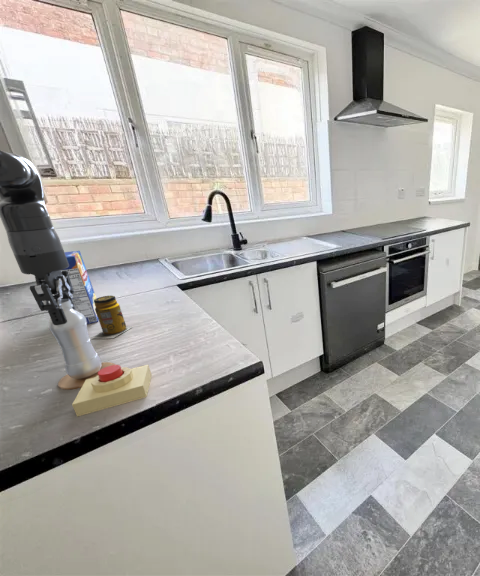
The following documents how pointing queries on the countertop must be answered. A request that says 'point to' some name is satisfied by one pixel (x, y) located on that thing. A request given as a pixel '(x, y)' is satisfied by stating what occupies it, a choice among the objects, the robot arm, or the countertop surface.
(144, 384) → the button base
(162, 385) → the countertop surface
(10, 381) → the countertop surface
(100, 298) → the condiment
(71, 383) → the coaster
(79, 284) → the blue cardboard box
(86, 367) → the plastic bottle
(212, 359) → the countertop surface
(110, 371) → the red button cap
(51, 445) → the countertop surface
